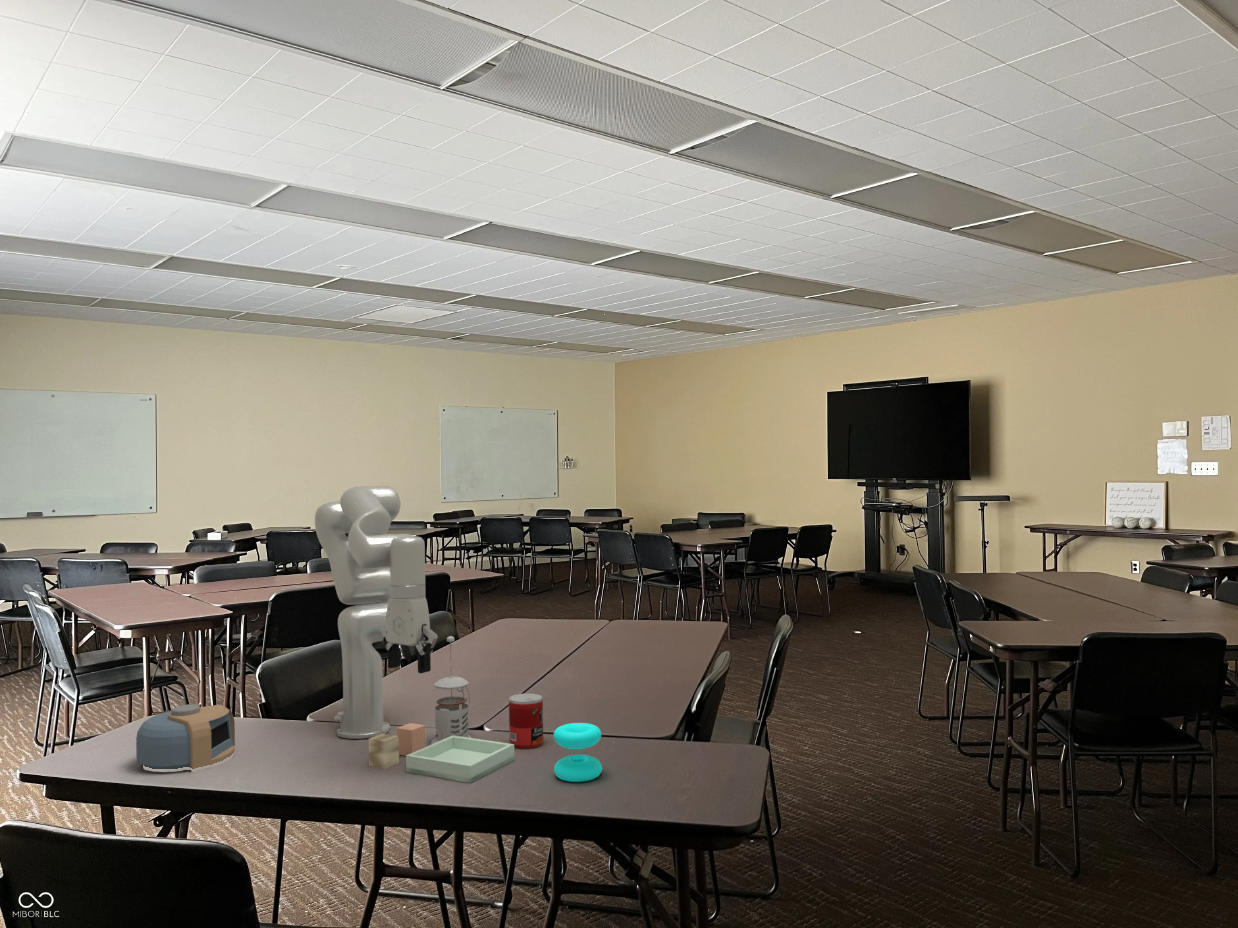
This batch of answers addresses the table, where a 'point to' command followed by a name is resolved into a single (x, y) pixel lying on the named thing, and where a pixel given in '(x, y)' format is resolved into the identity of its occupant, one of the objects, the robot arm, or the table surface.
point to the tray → (460, 758)
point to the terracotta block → (411, 738)
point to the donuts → (578, 765)
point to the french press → (451, 708)
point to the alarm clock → (186, 737)
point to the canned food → (526, 720)
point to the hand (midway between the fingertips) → (409, 669)
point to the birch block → (383, 751)
